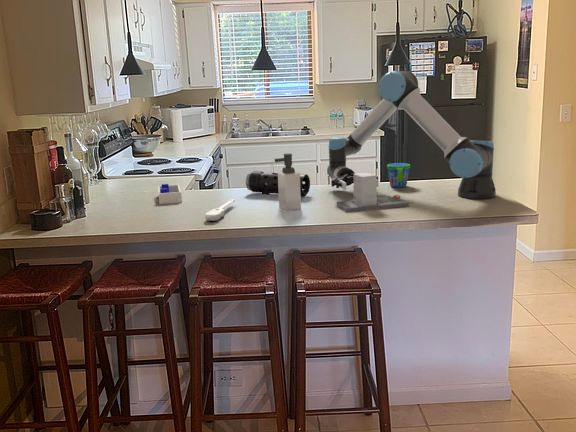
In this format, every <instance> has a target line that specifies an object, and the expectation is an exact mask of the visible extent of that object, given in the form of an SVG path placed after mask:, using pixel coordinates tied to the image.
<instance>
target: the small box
mask: <svg viewBox="0 0 576 432" xmlns="http://www.w3.org/2000/svg"><path fill="white" fill-rule="evenodd" d="M377 177H378V176H377V174H373V173H369V172H359V173H355V174H354V183H353V200H354V204H355V205H357V206H359V207H360V206H370V205H377V198H378V197H377V193H378V192H377V191H378V190H377V188H378V187H377Z"/></svg>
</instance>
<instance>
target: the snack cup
mask: <svg viewBox="0 0 576 432" xmlns="http://www.w3.org/2000/svg"><path fill="white" fill-rule="evenodd" d="M386 169H387V174H388V181H389V186H390V187H391V188H405V187H407V184H408V179H409V173H410V169H411V164H410V163H407V162H406V163H405V162H393V163H391V162H390V163H388V164H387V165H386Z"/></svg>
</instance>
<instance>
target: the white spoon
mask: <svg viewBox="0 0 576 432" xmlns="http://www.w3.org/2000/svg"><path fill="white" fill-rule="evenodd" d="M236 201H237V199H228V200H227V202H225V203H223V204H222V205H220V206H219V207H217V208H212V209H211V210H209V211H207V212H206V213H205V214H204V218H205V220H206V221H207V222H216V221H219V220H220V219H221V218H224V217H225V208H226V207H228V206H229V205H231V204H232V203H235V202H236Z"/></svg>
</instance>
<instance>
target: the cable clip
mask: <svg viewBox="0 0 576 432" xmlns="http://www.w3.org/2000/svg"><path fill="white" fill-rule="evenodd" d="M169 185H170V184H169V183H163V184H161V186H162V189H160V193H169Z"/></svg>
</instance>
